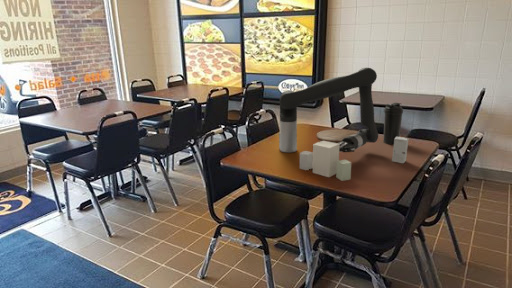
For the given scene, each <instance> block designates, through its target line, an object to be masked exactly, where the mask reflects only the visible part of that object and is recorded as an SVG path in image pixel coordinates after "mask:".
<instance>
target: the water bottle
mask: <svg viewBox="0 0 512 288" xmlns="http://www.w3.org/2000/svg"><path fill="white" fill-rule="evenodd" d="M401 105H402V103H399V102H393V103H387V104H386V105H385V107H384V109H383V112H384V116H383V117H384V120H383V143H384V144H387V145H394V139H395V138H396V137H401V136H400V135H401V126H402V117H403V114H404V109H403V107H402V106H401Z"/></svg>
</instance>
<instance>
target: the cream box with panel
mask: <svg viewBox="0 0 512 288" xmlns="http://www.w3.org/2000/svg"><path fill="white" fill-rule="evenodd" d="M312 152H313V168H312V173H313V174H315V175H319V176H323V177H326V178H330V177H332V176H335V175H336V171H337V161H339V160H340V152H339V144H338V143H333V142H328V141H321V140H319V141H317V142H315V143H313V144H312Z"/></svg>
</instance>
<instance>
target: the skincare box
mask: <svg viewBox="0 0 512 288" xmlns="http://www.w3.org/2000/svg"><path fill="white" fill-rule="evenodd" d="M409 140H410V139H409V138H407V137H401V136H399V137H396V138H395V139H394V144H393V148H392V157H391V162H394V163H399V164H405V163H406V161H407V154H408V147H409Z"/></svg>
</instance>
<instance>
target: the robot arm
mask: <svg viewBox="0 0 512 288" xmlns="http://www.w3.org/2000/svg"><path fill="white" fill-rule="evenodd" d="M377 76H378V75H377V72H376V70H374V69H373V68H371V67H361V69H359V70H358V71H355V72H353V73H351V74H347V75H343V76H335V77H331V78H328V79H324V80H321V81H318V82H315V83H313V84H311V85H309V86H307V87H306V88H304V89H300V90H299V89H298V90H295V91H292V90H288V89H287V90H284V91H283V92H281V94H280V97H279V133H278V143H279V144H278V145H279V146H278V147H279V148H278V149H279V150H280V151H281V152H282V153H294V152H296V151H297V150H298V148H297V147H298V145H297V142H298V139H297V137H298V134H297V133H298V131H297V130H298V129H297V127H298V126H297V125H298V124H297V123H298V122H297V121H298V113H297V112H298V111H297V110H298V109H297V107H299V106H302V105H305V104H306V103H310V102H315V101H320V100H323V99H327V98H331V97H333V96H336V95H339V94H342V93H344V92H347V91H349V90H352V89H356V88H358V92H359V107H360V108H359V109H360V111H359V113H360V124H361V125H363V126H366V127H367V129H366V128H361V129H359V130H358V131H357V132H356V134H354V135H350V136H348V137H346V138H344V139H343V140H342V141H341V142H338V143H337V144H339V153H351V152H353V153H354V152H355V151H356V150H358V149H360V147H362V146H364V145H365V144H366V143H376V142H377V141H378V139H379V132H378V128H377V126H376V122H375V108H374V102H373V101H374V100H373V94H372V93H373V92H372V86H373V84H374V83H375V82H376V80H377V78H378V77H377ZM333 143H335V142H333Z"/></svg>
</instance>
